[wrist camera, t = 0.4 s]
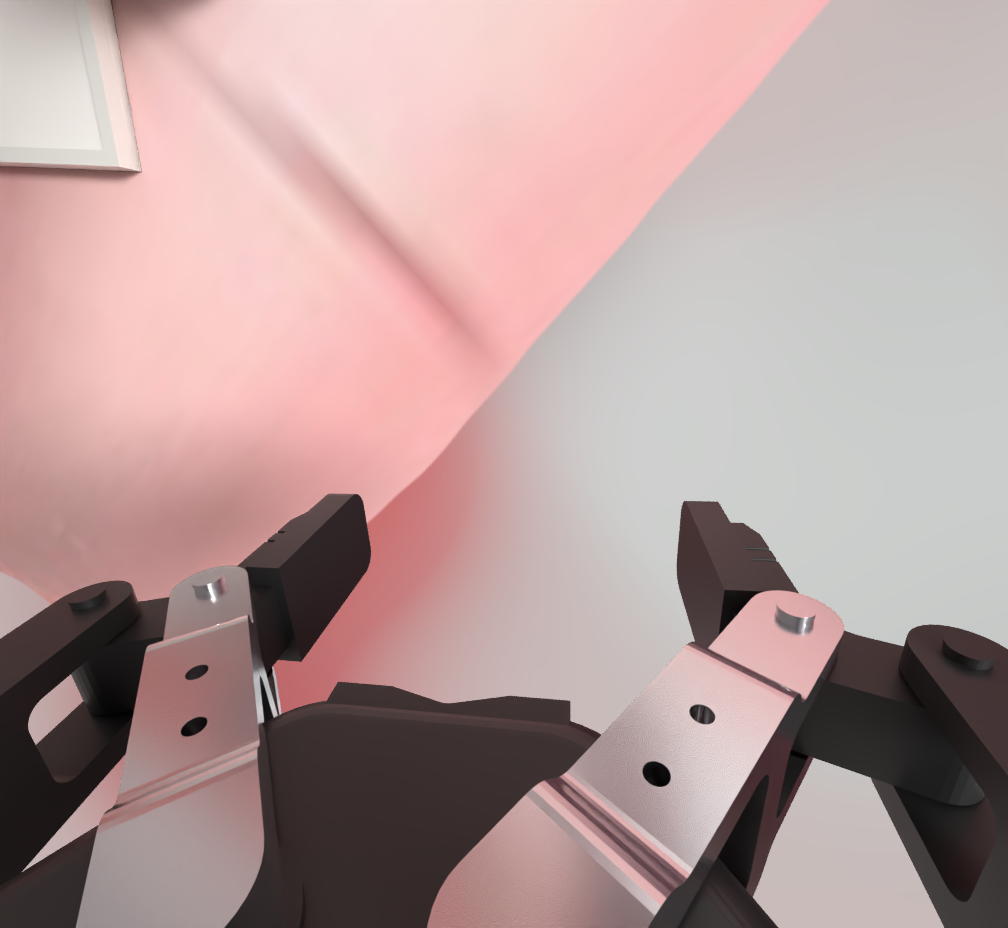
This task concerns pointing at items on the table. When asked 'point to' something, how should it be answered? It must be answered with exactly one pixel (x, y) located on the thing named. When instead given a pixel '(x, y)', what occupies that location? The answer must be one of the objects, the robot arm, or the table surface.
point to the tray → (63, 87)
